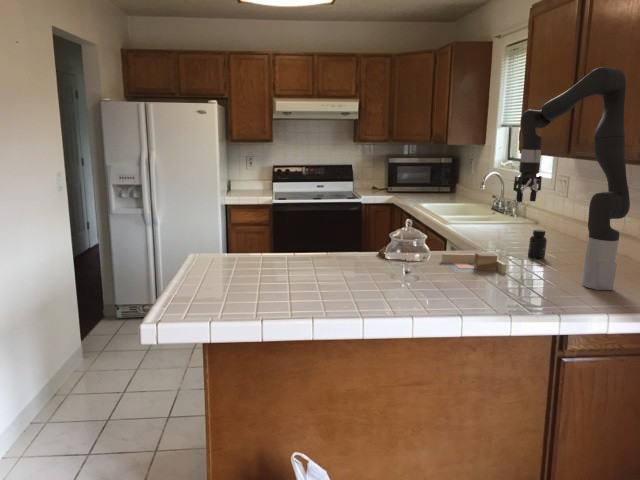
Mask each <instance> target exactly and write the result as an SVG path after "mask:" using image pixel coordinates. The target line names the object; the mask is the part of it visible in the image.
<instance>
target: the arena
mask: <svg viewBox="0 0 640 480" xmlns="http://www.w3.org/2000/svg"><path fill="white" fill-rule="evenodd" d="M440 262H441V263H443V264H444V265H445V266H446V267H448V268H449V269H450V270H452V272H454V273H456V274H504V275H505V274H506V273H507V265H508V264H507V263H505V262H503V261H502V260H500V259H498V258H497V265H496V271H477V270H476V269H475V268H474V262H475V253H447V252H446V253H442V254H441V260H440Z"/></svg>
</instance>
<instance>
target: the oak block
mask: <svg viewBox="0 0 640 480" xmlns="http://www.w3.org/2000/svg"><path fill="white" fill-rule="evenodd" d="M474 254H475V262H474V268H475V269H476V270H477V271H496V265H497V259H498V255H497V254H496V253H493V252H492V253H491V252H490V253H489V252H475V253H474Z"/></svg>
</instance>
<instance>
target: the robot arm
mask: <svg viewBox="0 0 640 480" xmlns="http://www.w3.org/2000/svg"><path fill="white" fill-rule="evenodd" d="M626 89H627V79H626V75H625V73H624V72H623V71H622V70H621V69H618V68H612V67H609V66H608V67H607V66H600V67H597V68H595V69H593V70H592V71H590V72H589V73H587V75H585V76H584V77H583V78H582V79H580V80H579V81H578V82H577V83H575V84H574V85H573V86H571V87H570V88H568V90H566V91H565V92H563V93H561V94H559V95H558V96H556V97H554V98H552V99H550V100H549V101H546V102H545V103H544V104H543V105H542V106H541V109H540V110H537V109H527V110H525V111H524V112H523V113H522V115H521V118H520V129H521V135H522V147H521V152H520V153H521V154H520V161H519V168H518V169H519V170H518V171H519V173H520V175H515V176H514V181H513V191H515V192H516V198H515V199H516V202H517V203H522V202H523V197H524V191H525V190H526V189H527V188H529V189H530V196H529V202H536V199H537V193H538V192H539V191H541V190H542V181H543V180H542V176H541V175H537V174H539V173H540V170H541V169H540V167H541V161H542V143H543V137H542V135H540V134H538V133H537V132H536V129H538V130H539V129H542V128H546V127H548V126H549V125H550V124H551V123H552V122H553V121H554V120H556V119H558V118H560V117H562V116H563V115H565V114H567V113H569V112H570V111H571V110H572V109H573V108H574V107H575V106H576V105H577V104H578V103H579V102H580V101H581V100H583V99H585V98H588V97H591V96H595V95H596V96H601V97H602V101H603V112H602V116H601V118H600V120H599V122H598V125H597V127H596V129H595V131H594V136H593V146H594V148H593V151H594V157H595V159H596V161H597V163H598V164H599V167H600V168H601V170H602V171H603V173H604V174H605V177H606V180H607V187H608V188H607V189H608V191H597V192H596V193H594V195H593V196H592V197H591V199H590V202H589V207H588V220H587V229H588V238H587V246H586V253H585V260H584V267H583V268H584V269H583V274H582V281H581V282H582V283H581V285H582V286H583V287H586V288H588V289H592V290H595V291H614V285H615V278H616V273H617V266H618V264H617V262H616V261H617V255H618V249H619V248H618V247H619V242H620V241H619V240H620V235H621V234H620V232H619V231H618V230H616V229H614V228H613V227H612V226H611V220H620V219H623V218H625V217H626V216H628V213H629V211H630V204H631V203H630V202H631V201H630V194H629V193H630V191H629V185H628V177H627V167H626V135H625V134H626V133H625V101H626Z"/></svg>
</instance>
